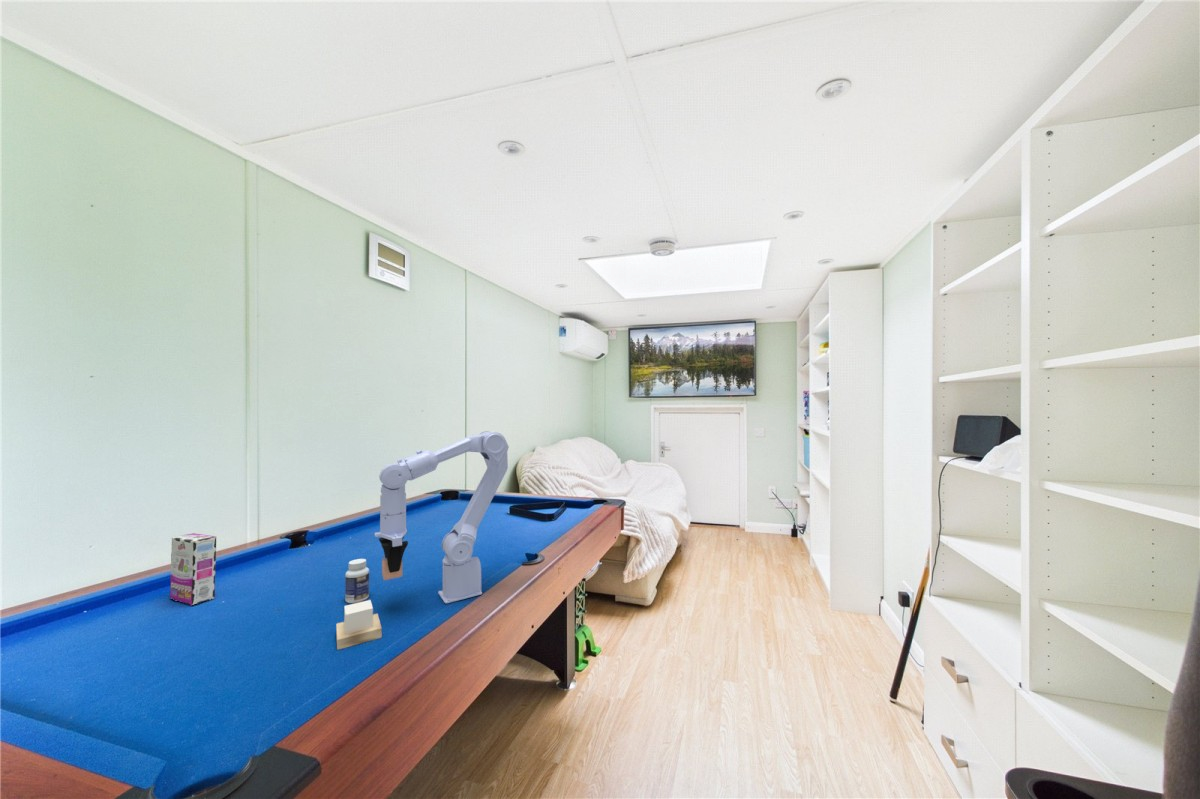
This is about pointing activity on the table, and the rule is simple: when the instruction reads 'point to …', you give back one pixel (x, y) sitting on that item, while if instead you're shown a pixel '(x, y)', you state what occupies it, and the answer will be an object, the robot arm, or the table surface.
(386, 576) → the terracotta cube
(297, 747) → the table surface
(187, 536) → the candy bar box
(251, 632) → the table surface
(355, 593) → the pill bottle
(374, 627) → the oak slab
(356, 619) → the cream cube
